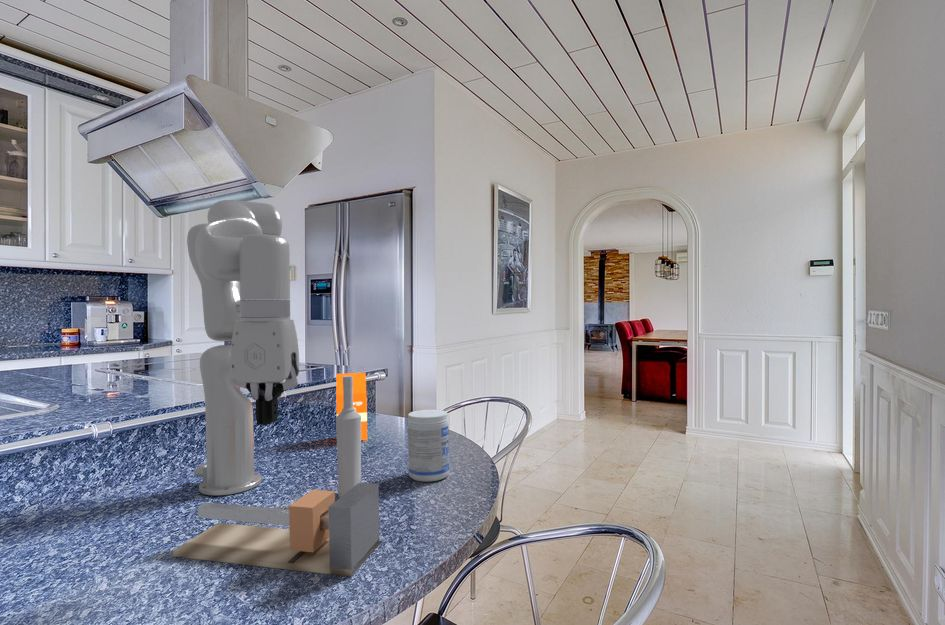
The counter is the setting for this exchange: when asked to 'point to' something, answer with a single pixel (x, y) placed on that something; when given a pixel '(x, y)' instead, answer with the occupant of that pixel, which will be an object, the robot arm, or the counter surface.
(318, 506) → the tan notched block
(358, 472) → the bottle
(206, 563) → the counter surface
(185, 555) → the base board
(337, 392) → the orange juice
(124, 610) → the counter surface
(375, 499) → the slider rail assembly
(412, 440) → the supplement tub
